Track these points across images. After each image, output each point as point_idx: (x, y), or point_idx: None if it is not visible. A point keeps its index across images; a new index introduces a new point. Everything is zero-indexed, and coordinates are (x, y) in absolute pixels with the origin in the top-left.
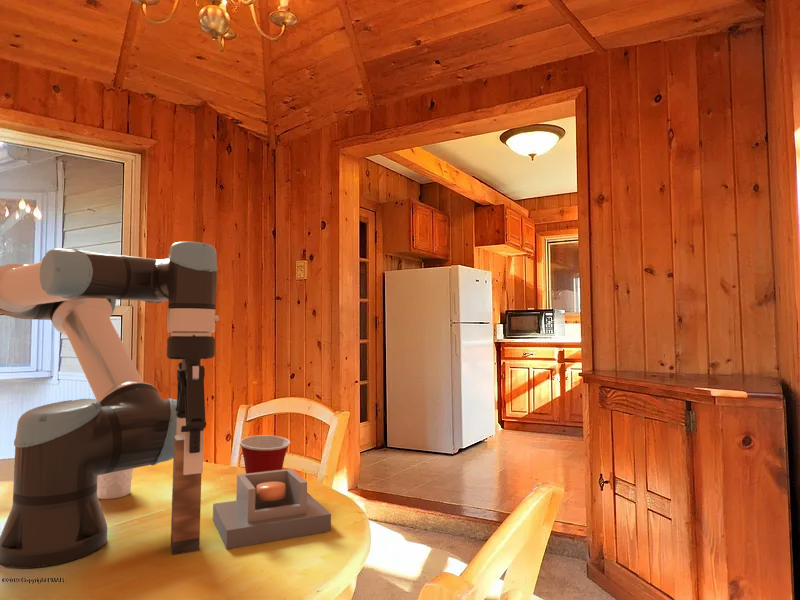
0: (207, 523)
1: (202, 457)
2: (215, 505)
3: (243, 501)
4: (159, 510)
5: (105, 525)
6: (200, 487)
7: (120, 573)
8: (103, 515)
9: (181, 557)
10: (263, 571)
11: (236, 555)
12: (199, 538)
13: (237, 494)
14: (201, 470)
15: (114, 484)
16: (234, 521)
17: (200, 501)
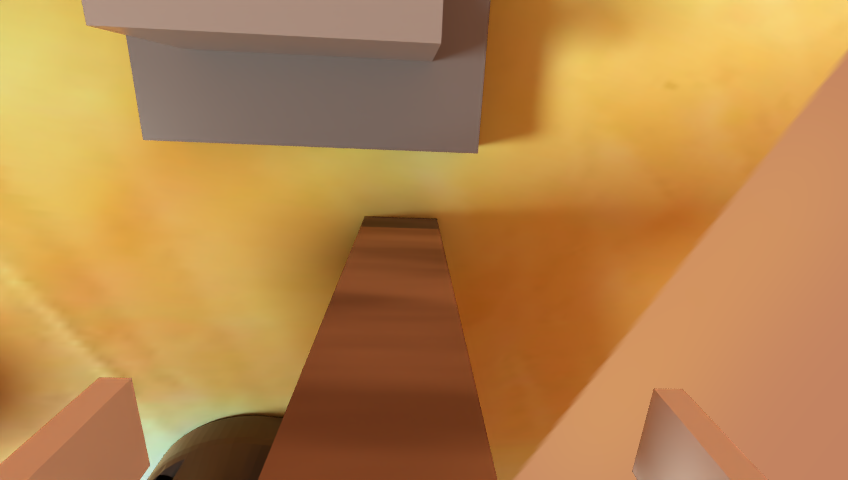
0: (208, 158)
1: (753, 470)
2: (171, 136)
3: (330, 49)
4: (17, 283)
5: (257, 452)
6: (454, 301)
7: (482, 389)
8: (231, 477)
9: (461, 266)
10: (678, 84)
11: (528, 128)
12: (438, 228)
13: (181, 43)
14: (691, 405)
15: None
16: (399, 107)
17: (448, 273)
